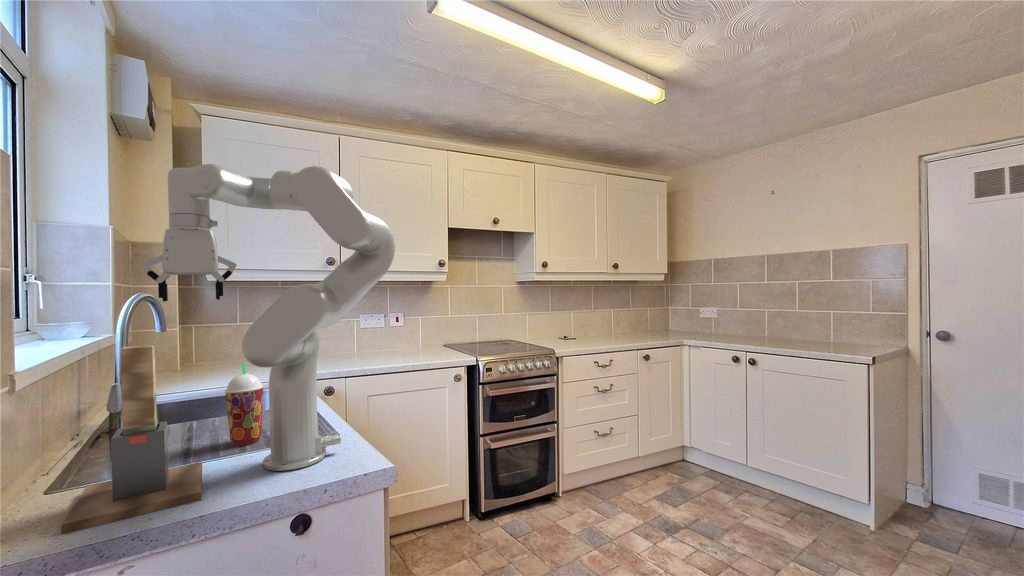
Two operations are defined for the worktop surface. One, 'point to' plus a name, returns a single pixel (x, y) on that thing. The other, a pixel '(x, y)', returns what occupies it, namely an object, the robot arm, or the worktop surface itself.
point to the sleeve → (139, 462)
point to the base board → (133, 500)
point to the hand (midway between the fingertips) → (192, 300)
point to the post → (138, 389)
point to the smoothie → (244, 408)
